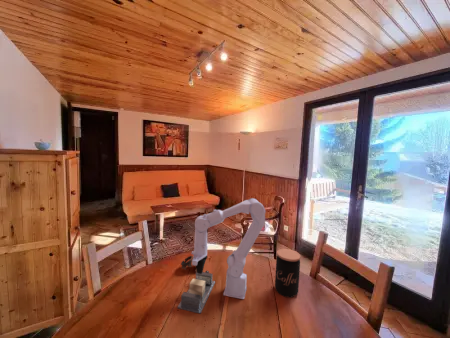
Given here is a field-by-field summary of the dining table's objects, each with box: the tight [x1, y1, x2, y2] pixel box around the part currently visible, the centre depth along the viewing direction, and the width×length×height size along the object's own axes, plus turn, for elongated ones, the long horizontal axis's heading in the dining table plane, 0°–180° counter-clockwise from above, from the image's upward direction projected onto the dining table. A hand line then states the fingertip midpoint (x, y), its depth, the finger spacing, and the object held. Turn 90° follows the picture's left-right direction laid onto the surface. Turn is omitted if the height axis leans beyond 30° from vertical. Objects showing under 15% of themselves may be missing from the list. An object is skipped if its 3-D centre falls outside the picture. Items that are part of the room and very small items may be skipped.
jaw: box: [195, 270, 213, 285], centre depth 98 cm, size 8×7×4 cm
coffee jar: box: [274, 248, 301, 298], centre depth 94 cm, size 11×11×18 cm
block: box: [188, 278, 205, 297], centre depth 89 cm, size 6×4×5 cm, turn 77°
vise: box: [177, 280, 216, 315], centre depth 89 cm, size 10×20×5 cm, turn 167°
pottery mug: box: [180, 255, 197, 274], centre depth 109 cm, size 12×10×8 cm
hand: (199, 272), depth 89 cm, fingers closed
